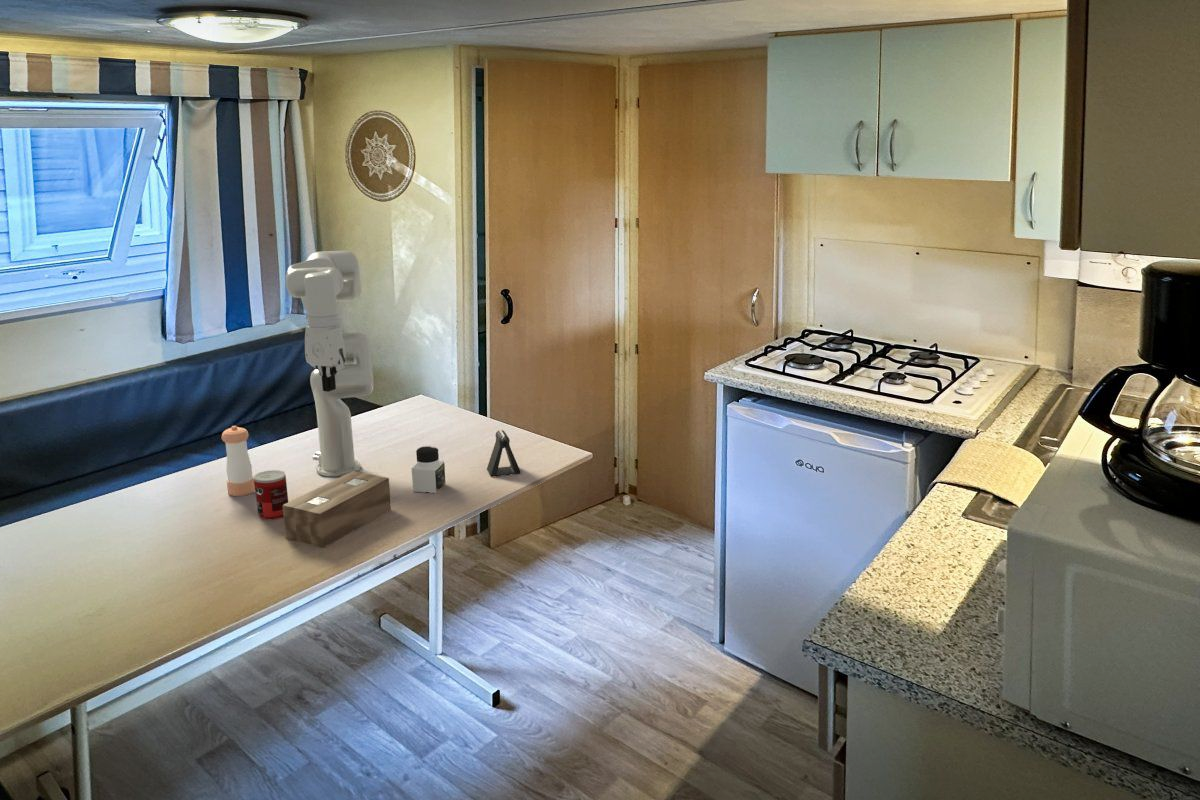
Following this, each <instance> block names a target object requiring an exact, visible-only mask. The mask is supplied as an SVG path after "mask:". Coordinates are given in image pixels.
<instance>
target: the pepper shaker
mask: <svg viewBox="0 0 1200 800" xmlns="http://www.w3.org/2000/svg"><path fill="white" fill-rule="evenodd" d="M248 438H249V432H248V430H247V429H246V428H244V427H239V426H237V425H232V426H231V427H230V428H229V427H228V428H226V429H225V430H224V431H223V432H222V434H221V440H222V442H224V443H225V450H226V452H225V453H226V476H227V480H226V486H227V494H228V495H229V496H234V497H243V496H247V495H249V494H252V493H254V492H255V486H254V475H253V468H252V467H253V466H252V463H251V460H250V459H251V458H250V457H249V456H250V455H249V453H248V445H247V444H248V443H247V440H248Z"/></svg>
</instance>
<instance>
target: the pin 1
mask: <svg viewBox="0 0 1200 800" xmlns="http://www.w3.org/2000/svg"><path fill="white" fill-rule="evenodd" d="M329 500H330V499H326V498H321V497H316V498H314V499H312V500H310V501H308V502H306V503H309V504H314V505H318V506H319V505H321V504H323V503H325V502H327V501H329Z"/></svg>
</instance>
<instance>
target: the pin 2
mask: <svg viewBox="0 0 1200 800" xmlns="http://www.w3.org/2000/svg"><path fill="white" fill-rule="evenodd" d="M365 482H367V481H365V480H360V479H356V478H355V479H353V480H351V481H349V482H347V483H345V484H348V485H352V486H359V485H361V484H363V483H365Z"/></svg>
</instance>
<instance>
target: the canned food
mask: <svg viewBox="0 0 1200 800" xmlns="http://www.w3.org/2000/svg"><path fill="white" fill-rule="evenodd" d="M253 477H254V486H255V491H254V492H255V493H254V494H255V500H256V509H257V515H258V517H259V518H261V519H262V520H263V519H264V520H270V521H271V520H277V519H281V518H284V515H283V506H282V505H284V504H286V503H288V502H289V496H288V487H287V477H286V473H285V471H281V470H273V469H271V470H265V471H261V472H258V473H256V474H255V475H253Z"/></svg>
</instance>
